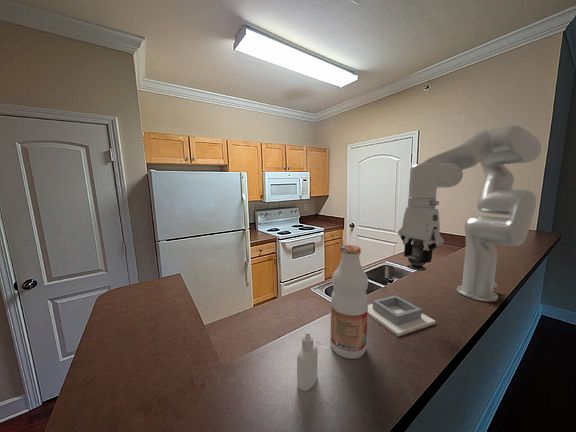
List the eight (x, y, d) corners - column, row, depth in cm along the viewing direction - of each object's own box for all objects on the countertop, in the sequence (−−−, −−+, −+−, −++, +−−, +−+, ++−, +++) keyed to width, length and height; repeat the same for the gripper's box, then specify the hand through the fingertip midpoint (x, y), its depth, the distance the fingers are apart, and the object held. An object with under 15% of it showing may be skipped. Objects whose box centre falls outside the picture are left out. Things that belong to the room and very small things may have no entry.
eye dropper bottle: (292, 378, 52) (291, 330, 50) (313, 370, 54) (313, 323, 52) (300, 394, 48) (300, 342, 46) (323, 384, 50) (324, 334, 49)
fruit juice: (324, 339, 65) (325, 244, 61) (353, 333, 68) (356, 241, 64) (340, 363, 56) (343, 254, 52) (373, 355, 59) (378, 250, 55)
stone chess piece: (430, 271, 71) (433, 234, 69) (409, 270, 72) (412, 233, 70) (422, 265, 76) (425, 230, 75) (403, 264, 77) (406, 229, 76)
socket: (394, 300, 87) (395, 290, 86) (435, 323, 72) (436, 312, 71) (360, 309, 81) (361, 298, 80) (397, 336, 66) (398, 323, 65)
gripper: (458, 205, 65) (452, 266, 67) (406, 201, 81) (402, 251, 83) (440, 206, 62) (435, 269, 64) (390, 202, 78) (387, 253, 80)
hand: (417, 258), depth 74 cm, fingers closed on stone chess piece, 5 cm apart
